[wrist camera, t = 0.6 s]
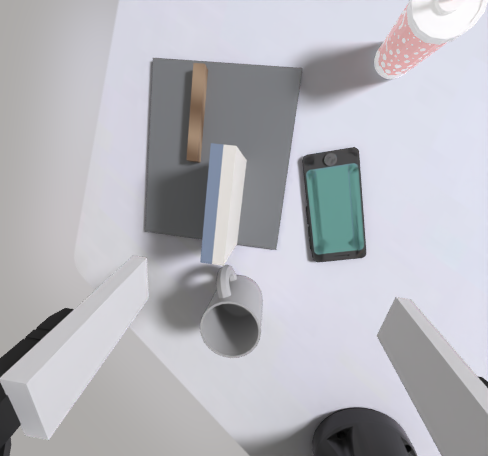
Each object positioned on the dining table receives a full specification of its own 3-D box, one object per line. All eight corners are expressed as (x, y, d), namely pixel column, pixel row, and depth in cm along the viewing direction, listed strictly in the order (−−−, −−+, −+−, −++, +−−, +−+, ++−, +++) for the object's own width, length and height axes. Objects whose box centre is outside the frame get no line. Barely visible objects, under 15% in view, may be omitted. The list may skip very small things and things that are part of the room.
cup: (223, 321, 36) (209, 362, 28) (206, 262, 35) (186, 285, 26) (267, 313, 35) (267, 353, 27) (252, 252, 34) (246, 272, 25)
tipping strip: (200, 162, 32) (197, 161, 31) (190, 161, 32) (186, 160, 31) (208, 69, 30) (204, 63, 29) (197, 69, 30) (193, 62, 29)
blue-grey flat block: (237, 244, 33) (223, 265, 24) (220, 241, 34) (200, 262, 24) (246, 160, 31) (236, 145, 22) (228, 158, 32) (210, 143, 22)
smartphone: (359, 146, 29) (367, 257, 31) (355, 148, 31) (363, 255, 33) (301, 155, 30) (312, 263, 32) (300, 157, 32) (311, 260, 34)
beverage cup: (397, 19, 28) (524, -151, 14) (431, 56, 28) (590, -76, 14) (357, 61, 29) (437, -58, 15) (390, 96, 29) (500, 10, 15)
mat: (276, 248, 34) (276, 249, 33) (147, 230, 35) (145, 231, 35) (301, 70, 30) (302, 68, 29) (155, 60, 31) (152, 57, 31)
